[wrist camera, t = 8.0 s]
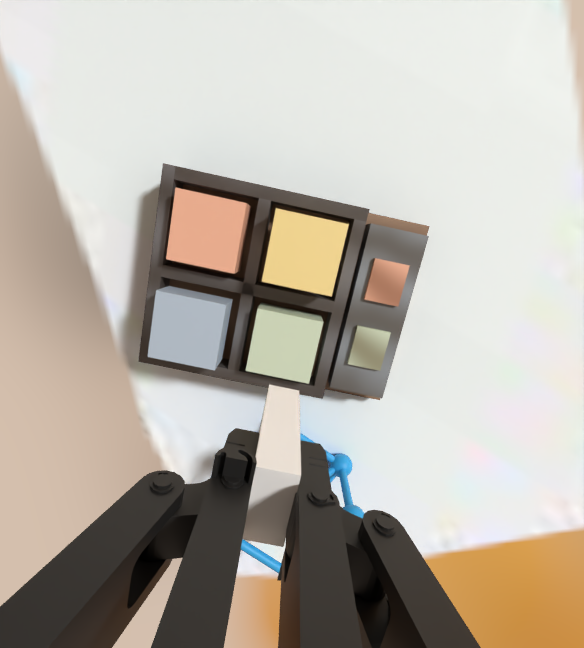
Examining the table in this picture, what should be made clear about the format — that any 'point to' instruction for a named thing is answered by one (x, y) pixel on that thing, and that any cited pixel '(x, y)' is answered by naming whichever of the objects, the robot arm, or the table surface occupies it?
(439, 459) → the table surface
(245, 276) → the keypad
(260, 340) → the sage key
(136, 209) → the table surface
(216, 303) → the slate key
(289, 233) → the mustard key
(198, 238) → the terracotta key
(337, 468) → the molecular structure
